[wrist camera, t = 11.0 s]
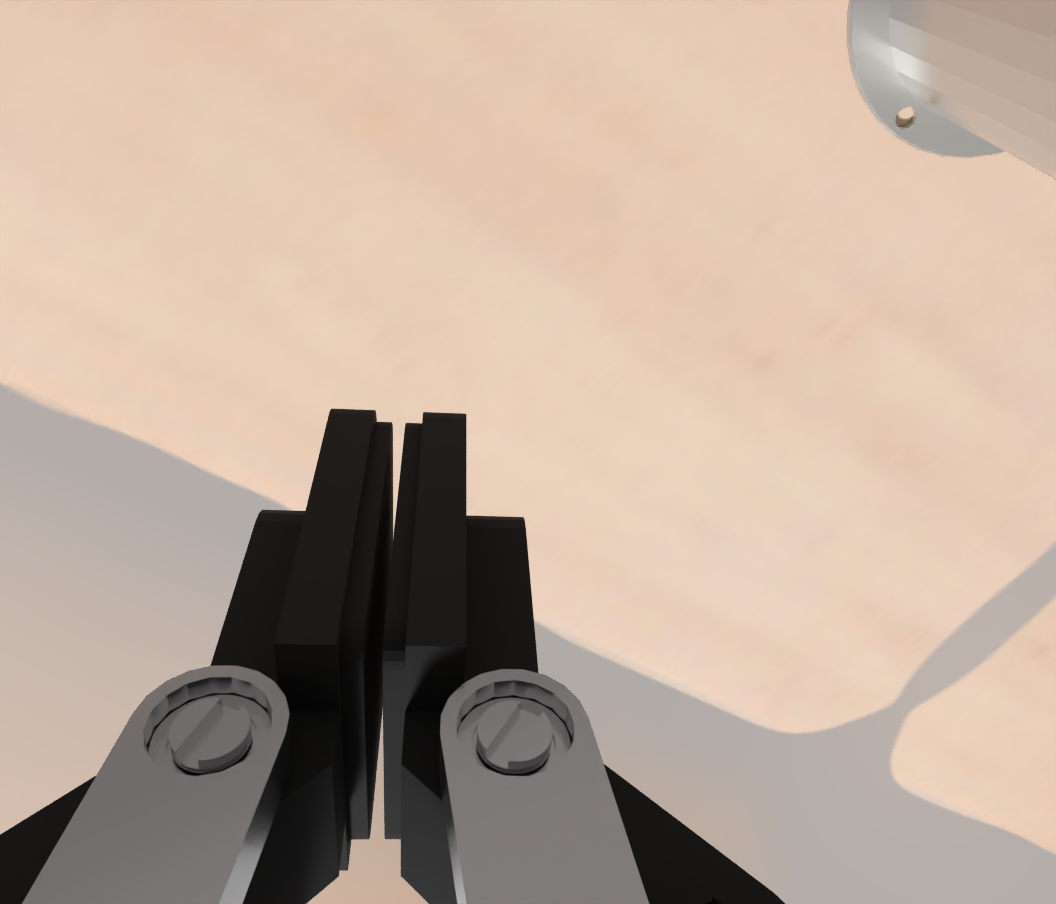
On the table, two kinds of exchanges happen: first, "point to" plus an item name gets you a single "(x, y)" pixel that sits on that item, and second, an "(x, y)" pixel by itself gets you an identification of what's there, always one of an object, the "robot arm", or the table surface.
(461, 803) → the robot arm
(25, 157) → the table surface
